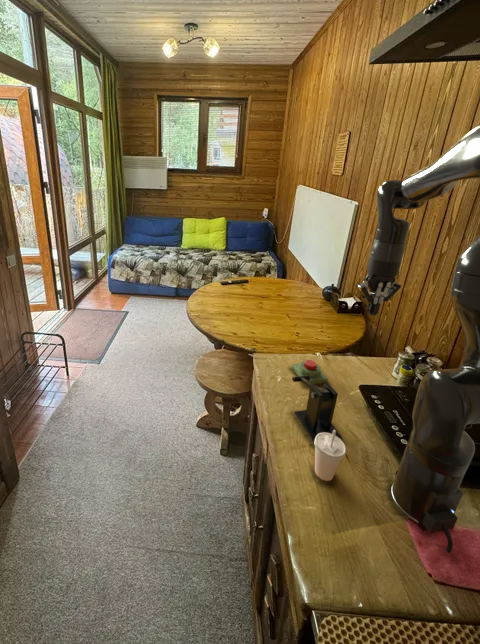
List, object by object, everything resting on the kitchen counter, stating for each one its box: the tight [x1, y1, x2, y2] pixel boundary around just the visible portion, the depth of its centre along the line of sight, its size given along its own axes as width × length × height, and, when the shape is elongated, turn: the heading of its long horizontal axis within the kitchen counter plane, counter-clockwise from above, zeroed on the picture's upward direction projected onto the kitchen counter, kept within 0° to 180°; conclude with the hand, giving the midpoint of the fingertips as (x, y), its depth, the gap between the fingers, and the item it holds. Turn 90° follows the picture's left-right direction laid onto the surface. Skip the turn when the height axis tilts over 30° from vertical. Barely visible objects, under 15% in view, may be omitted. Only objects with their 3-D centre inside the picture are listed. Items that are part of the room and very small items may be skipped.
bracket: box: [294, 382, 342, 443], centre depth 81 cm, size 10×8×13 cm
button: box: [304, 359, 318, 371], centre depth 102 cm, size 4×4×2 cm
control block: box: [291, 360, 329, 384], centre depth 103 cm, size 9×8×4 cm
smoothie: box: [313, 429, 347, 482], centre depth 68 cm, size 6×6×14 cm
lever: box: [291, 375, 330, 402], centre depth 85 cm, size 13×5×2 cm, turn 10°
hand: (371, 314), depth 89 cm, fingers closed
